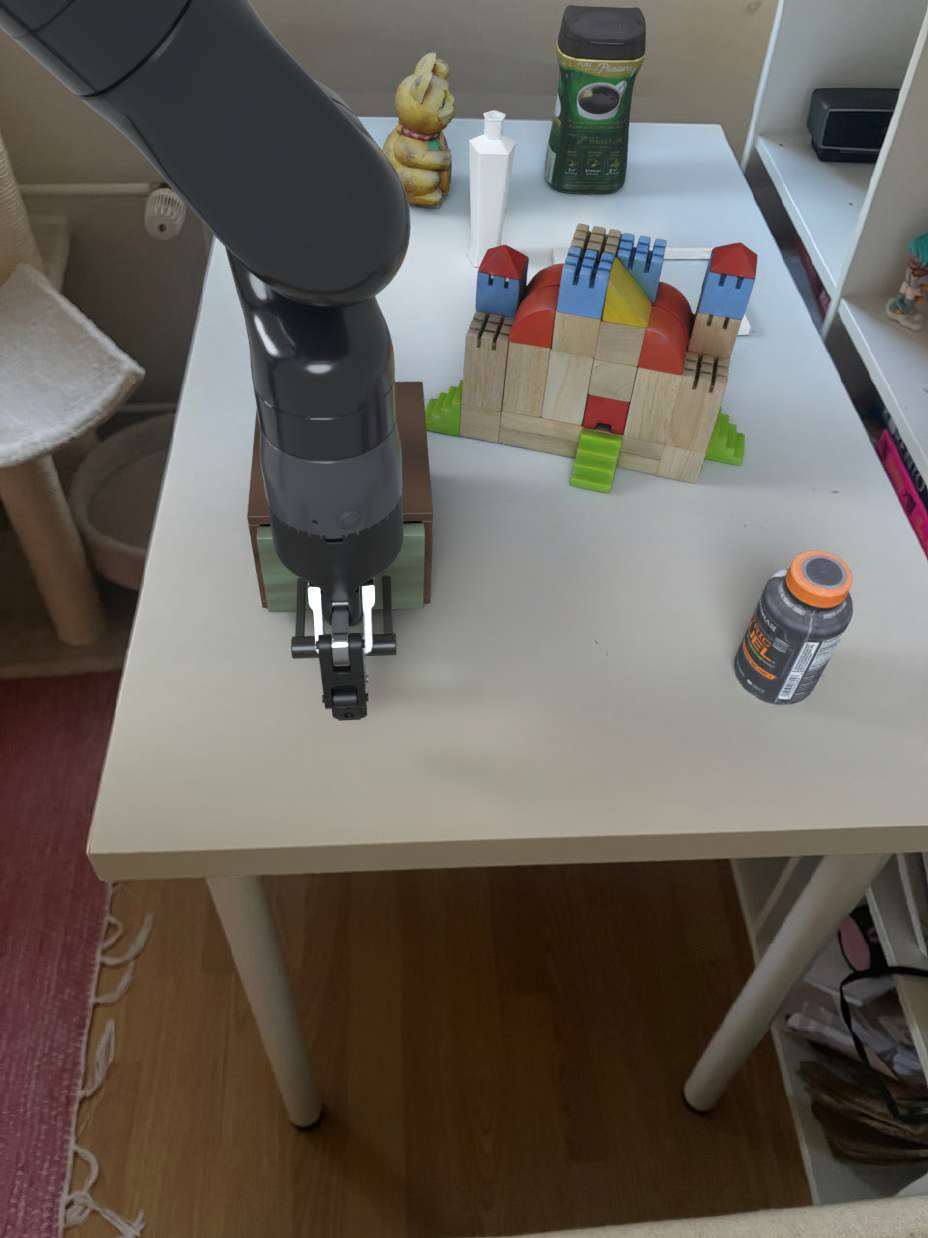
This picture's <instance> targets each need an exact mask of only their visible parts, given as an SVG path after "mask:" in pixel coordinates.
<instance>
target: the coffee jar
mask: <svg viewBox="0 0 928 1238" xmlns="http://www.w3.org/2000/svg"><path fill="white" fill-rule="evenodd" d="M646 38H647V25H646V18H645V15H644V12H643V11H642V10H641V8H640V7H637V6H636V7H619V6H618V7H617V6H587V5H573V4H568V5H567V6H566V7H565V9H564V12H563V15H562V19H561V25H560V28H559V32H558V36H557V39H556V47H555V54H556V60H557V64H558V70H559V75H558V84H557V85H558V86H557V94H556V101H555V106H554V111H553V117H552V121H551V127H550V130H549V131H550V132H549V137H548V142H547V146H546V152H545V157H544V168H543V170H544V171H543V172H544V173H543V174H544V177H545V178H544V179H545V181H546V182H547V184H548V185H549V186H550V187H552V188H553V189H555V190H556V191H558V192H562V193H569V194H590V195H591V194H592V195H597V194H598V195H600V194H613V193H616V192H617V191H618V190H620V189H621V188H622V187H624V185H625V183H626V176H627V170H628V169H627V168H628V155H629V139H630V138H629V136H630V135H629V134H630V121H631V109H632V99H633V92H634V86H635V82H636V78H637V75H638V73H639V72H640V70H641V68H642V66H643V64H644V61H645V58H646V46H647V45H646V44H647V39H646Z"/></svg>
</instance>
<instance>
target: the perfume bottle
mask: <svg viewBox="0 0 928 1238" xmlns="http://www.w3.org/2000/svg"><path fill="white" fill-rule="evenodd" d="M482 114H483V117H484V120H483V121H484V122H483V133H481V134H480V135H478V136H475V137H473V138H471V139H469V140H468V153H469V155H468V156H469V201H470V203H469V204H470V205H469V206H470V245H469V248H468V251H467V254H466V257H467V258H468V260H469V261H470V263H471V264H472V266H473V267H475V268H479V266H480V264H481V262H482V260H483V258H484V256H485V254H486V252H487V250H488V249H490V248H494V247H497V246H501V245H502V244H501V243H502V237H503V236H502V235H503V230H504V222H505V218H506V217H505V216H506V209H507V203H508V196H509V190H510V183H511V175H512V170H513V169H512V168H513V162H514V155H515V149H516V140H514V139H512V138H510V137H508V136H507V135H504V127H505V125H504V122H505V118H506V116H507V114H506V113H504V112H501V111H499V110H495V109H494V110H489V111H487V112H484V113H482Z"/></svg>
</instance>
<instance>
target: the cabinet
mask: <svg viewBox="0 0 928 1238" xmlns="http://www.w3.org/2000/svg"><path fill="white" fill-rule="evenodd" d="M424 393H425V392H424V383H423V381H395V400H396V419H397V426H398V431H399V436H400V441H401V451H402V485H403V521H413V523H424V527H425V558H424V602H423V605H425V604H431V596H432V595H431V594H432V565H433V564H432V563H433V560H432V559H433V531H434V529H433V528H434V507H433V506H434V505H433V495H432V493H433V492H432V483H431V470H430V459H429V458H430V457H429V446H428V432H427V431H428V430H426V418H425V410H426V407H425V395H424ZM253 434H254V435H253V444H252V457H251V466H250V478H249V479H250V480H249V490H248V491H249V492H248V501H247V511H246V512H247V513H246V519H247V524H248V525H247V526H248V531H249V537H250V543H251V548H252V555H253V560H254V561H253V562H254V566H255V573H256V578H257V584H258V589H259V590H258V591H259V596H260V597H259V598H260V602H261V607H262V608H263V609H268V606H267V600H266V593H265V587H264V581H263V575H262V569H261V563H260V557H259V550H258V544H257V528H258V527H263V526H271V525H270V519H269V512H268V507H267V500H266V494H265V488H264V482H263V475H262V469H261V462H260V427H259V419H258V412H257V407H256V411H255V421H254V433H253Z"/></svg>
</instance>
